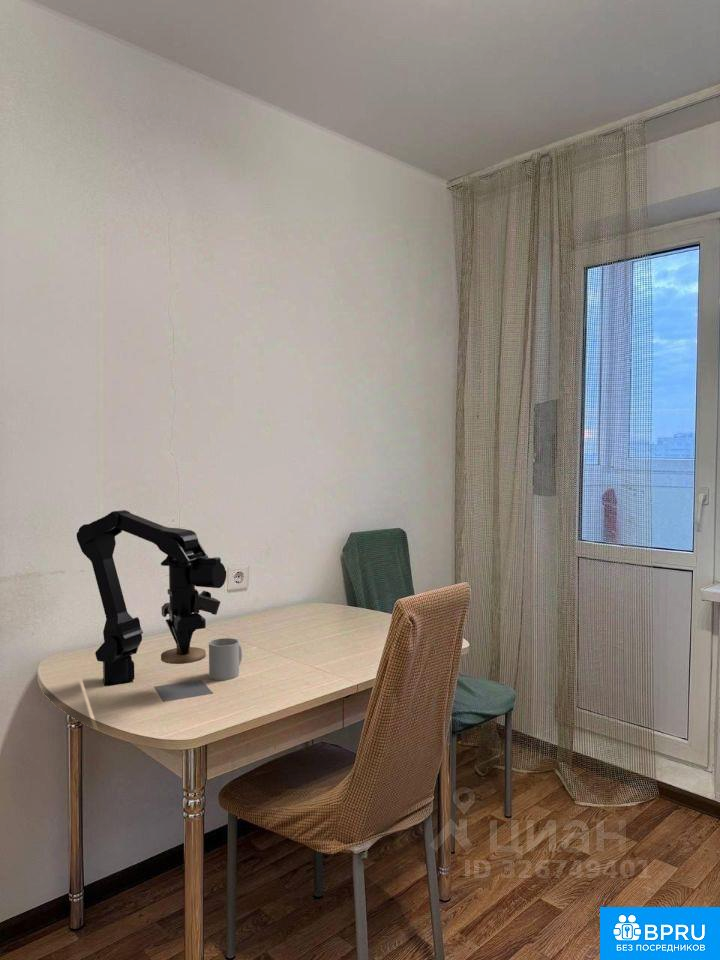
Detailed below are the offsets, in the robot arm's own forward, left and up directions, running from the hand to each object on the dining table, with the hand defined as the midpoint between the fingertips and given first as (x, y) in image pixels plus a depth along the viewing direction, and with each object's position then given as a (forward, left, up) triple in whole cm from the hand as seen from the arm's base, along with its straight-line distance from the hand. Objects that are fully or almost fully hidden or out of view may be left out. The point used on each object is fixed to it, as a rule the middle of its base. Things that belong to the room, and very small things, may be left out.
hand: (183, 652), depth 155 cm
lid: (0, 0, -1) cm, 1 cm away
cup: (+12, +7, -10) cm, 17 cm away
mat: (0, 0, -9) cm, 9 cm away
